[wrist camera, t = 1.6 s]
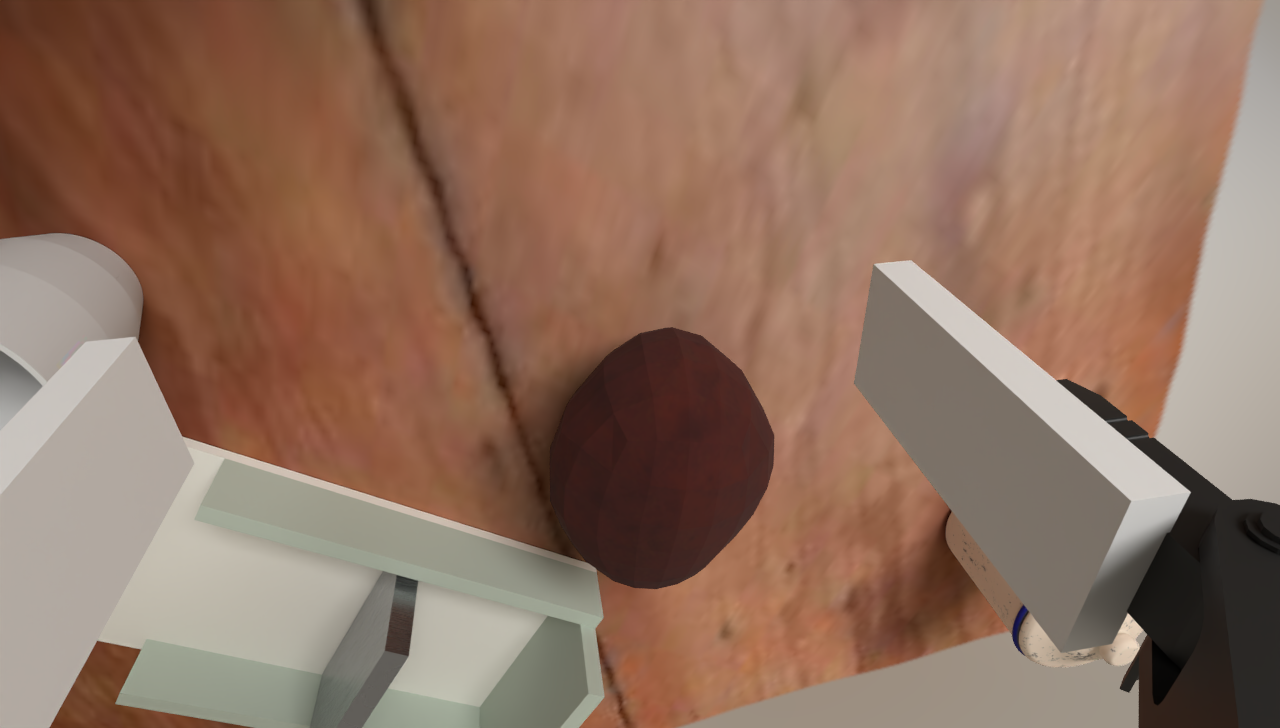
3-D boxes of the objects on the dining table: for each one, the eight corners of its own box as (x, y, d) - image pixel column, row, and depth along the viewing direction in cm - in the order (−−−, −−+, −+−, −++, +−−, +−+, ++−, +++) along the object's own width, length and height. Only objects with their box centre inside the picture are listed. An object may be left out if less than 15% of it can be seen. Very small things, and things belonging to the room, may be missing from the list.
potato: (536, 491, 42) (546, 641, 33) (550, 285, 35) (567, 404, 26) (718, 488, 44) (772, 627, 35) (763, 294, 37) (843, 406, 29)
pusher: (322, 673, 45) (293, 794, 39) (402, 538, 41) (384, 651, 34) (341, 677, 46) (316, 797, 39) (422, 544, 41) (408, 656, 35)
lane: (-106, 589, 38) (-250, 746, 30) (-56, 362, 32) (-219, 488, 25) (486, 710, 51) (484, 838, 44) (595, 565, 46) (613, 686, 38)
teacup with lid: (1053, 543, 52) (1181, 684, 42) (935, 572, 52) (1037, 723, 42) (1082, 412, 46) (1240, 544, 36) (947, 445, 45) (1071, 588, 35)
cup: (-30, 167, 28) (-254, 268, 20) (197, 239, 31) (85, 355, 23) (-38, 335, 32) (-233, 483, 23) (167, 387, 34) (60, 535, 26)
